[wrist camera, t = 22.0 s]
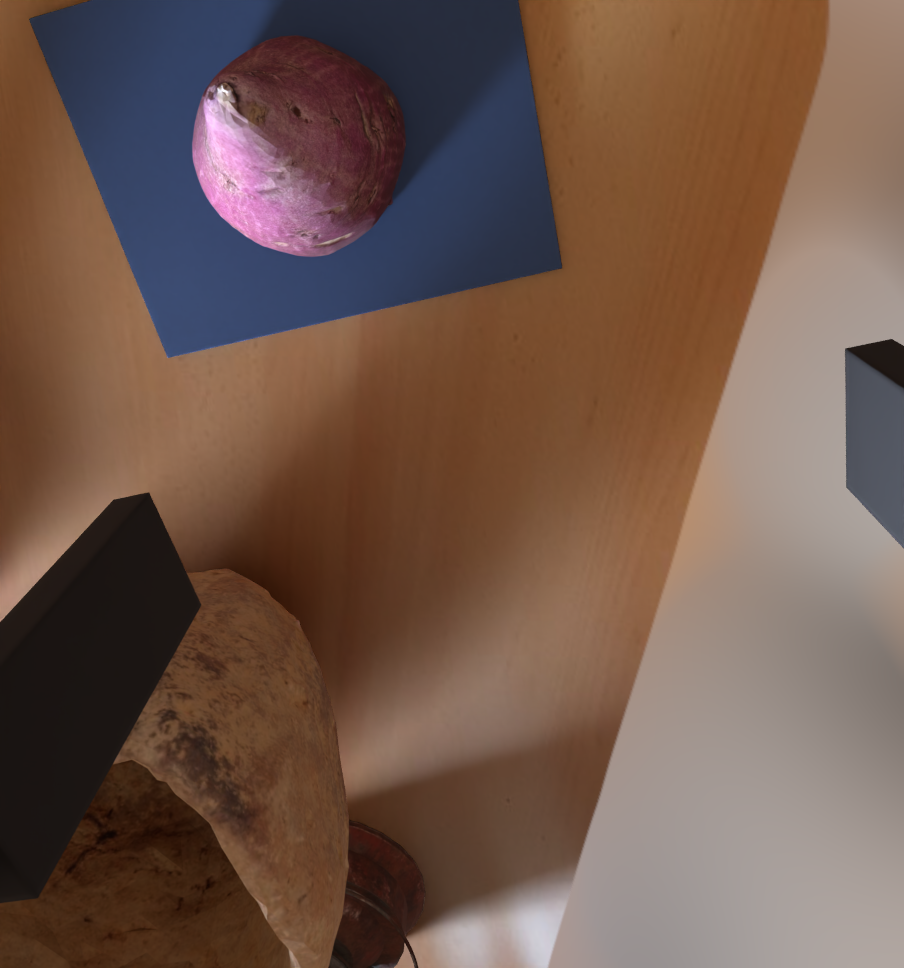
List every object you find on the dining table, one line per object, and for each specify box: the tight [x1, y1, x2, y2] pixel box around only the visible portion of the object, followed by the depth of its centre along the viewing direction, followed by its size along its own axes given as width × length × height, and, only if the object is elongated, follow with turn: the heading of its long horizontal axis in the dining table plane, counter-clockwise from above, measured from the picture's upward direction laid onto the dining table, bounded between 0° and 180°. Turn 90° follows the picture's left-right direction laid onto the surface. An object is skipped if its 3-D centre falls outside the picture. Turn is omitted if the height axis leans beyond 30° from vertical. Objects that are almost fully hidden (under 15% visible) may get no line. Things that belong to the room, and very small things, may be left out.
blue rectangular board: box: [29, 0, 562, 358], centre depth 41 cm, size 24×18×1 cm
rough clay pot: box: [0, 569, 349, 968], centre depth 43 cm, size 22×22×25 cm
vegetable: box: [192, 36, 406, 257], centre depth 34 cm, size 10×10×15 cm
